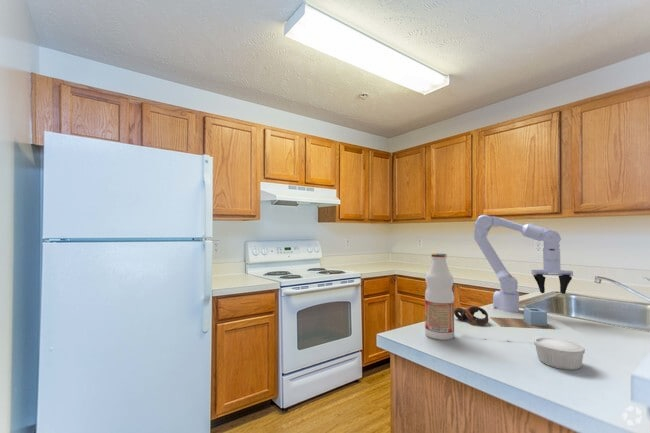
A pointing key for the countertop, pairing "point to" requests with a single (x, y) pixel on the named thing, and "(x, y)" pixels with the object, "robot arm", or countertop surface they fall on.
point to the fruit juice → (439, 300)
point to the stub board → (516, 323)
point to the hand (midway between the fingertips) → (552, 293)
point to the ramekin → (559, 353)
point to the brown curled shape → (472, 315)
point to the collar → (535, 317)
